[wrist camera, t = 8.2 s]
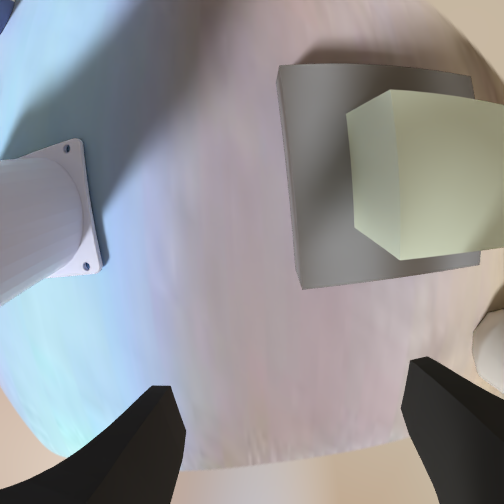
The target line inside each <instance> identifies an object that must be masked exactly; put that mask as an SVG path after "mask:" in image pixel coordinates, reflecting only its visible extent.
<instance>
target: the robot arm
mask: <svg viewBox="0 0 504 504" xmlns="http://www.w3.org/2000/svg"><path fill="white" fill-rule="evenodd" d="M68 145H69V146H70V151H69V152H67V147H68ZM86 262H87V263H88V264H89V265H90V269H89V268H87V266H86ZM102 267H103V263H102V259H101V254H100V250H99V245H98V240H97V235H96V230H95V225H94V219H93V213H92V208H91V201H90V195H89V188H88V181H87V174H86V166H85V157H84V147H83V142H82V141H81V140H80V139H78V138H73V139H70V140H67V141H64V142H61V143H58V144H55V145H52V146H49V147H46V148H43V149H41V150H38V151H35V152H33V153H30V154H27V155H25V156H22V157H20V158H17V159H8V160H0V307H1V306H3V305H4V304H6V303H7V302H9V301H10V300H12V299H13V298H15V297H16V296H18V295H19V294H21V293H22V292H24V291H25V290H27V289H29V288H30V287H32V286H33V285H35V284H37V283H38V282H40V281H41V280H43V279H45V278H55V277H66V276H76V275H87V274H96V273H98V272H100V271H101V270H102ZM401 411H402V414H403V417H404V420H405V423H406V426H407V429H408V432H409V435H410V437H411V439H412V441H413V443H414V445H415V447H416V450H417V452H418V454H419V456H420V458H421V460H422V462H423V464H424V466H425V468H426V471H427V473H428V475H429V477H430V479H431V481H432V483H433V486H434V488H435V491H436V494H437V496H438V500H439V503H440V504H504V400H503V399H501V398H499V397H497V396H495V395H493V394H491V393H489V392H488V391H486V390H484V389H482V388H480V387H479V386H477V385H475V384H473V383H472V382H470V381H468V380H467V379H465V378H463V377H462V376H460V375H458V374H457V373H455V372H453V371H452V370H450V369H448V368H447V367H445V366H443V365H442V364H440V363H438V362H437V361H435V360H433V359H431V358H429V357H423V358H418V359H414V360H410V364H409V370H408V376H407V381H406V386H405V391H404V396H403V401H402V405H401ZM185 437H186V429H185V427H184V424H183V421H182V418H181V415H180V413H179V410H178V407H177V404H176V401H175V398H174V395H173V392H172V389H171V386H151V387H150V388H149V389H148V390H147V391H146V392H144V393H143V394H142V395H141V396H140V397H139V398H138V399H137V400H136V401H135V402H134V403H133V404H132V405H131V406H130V407H129V408H128V409H127V410H126V411H125V412H124V413H123V414H121V415H120V416H119V417H118V418H117V419H116V420H115V421H114V422H113V423H112V424H111V425H110V426H108V427H107V428H106V429H105V430H104V431H102V432H101V433H100V434H99V435H98V436H96V437H95V438H94V439H93V440H91V441H90V442H89V443H88V444H87V445H85V446H84V447H83V448H81V449H80V450H79V451H77V452H76V453H74V454H73V455H71V456H70V457H68V458H67V459H65V460H64V461H62V462H60V463H59V464H57V465H56V466H54V467H52V468H50V469H48V470H46V471H44V472H42V473H40V474H38V475H36V476H34V477H32V478H30V479H28V480H26V481H23V482H20V483H18V484H15V485H13V486H10V487H7V488H4V489H0V504H170V502H171V499H172V495H173V492H174V488H175V484H176V480H177V477H178V474H179V470H180V466H181V463H182V459H183V452H184V445H185Z"/></svg>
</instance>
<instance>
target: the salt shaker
mask: <svg viewBox="0 0 504 504" xmlns="http://www.w3.org/2000/svg"><path fill="white" fill-rule="evenodd" d="M472 354H473V358H474V362H475V366H476V370H477V373H478V374H479V376H480V377H481V378H482V379H484V380H485V381H486V382H488V383H489V384H490V385H492V386H493V387H495V388H496V389H498V390H499V391H500V392H502V393H503V394H504V309H501V310H497V311H493V312H488V313H487V315H486V316H485V317H484V319H483V320H482V321H481V323H480V324H479V325H478V327H477V328H476V329H475V331H474V332H473V344H472Z"/></svg>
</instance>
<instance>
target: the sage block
mask: <svg viewBox="0 0 504 504" xmlns="http://www.w3.org/2000/svg"><path fill="white" fill-rule="evenodd" d="M346 119H347V128H348V137H349V148H350V159H351V172H352V186H353V204H354V228H356V229H357V230H359V231H360V232H361V233H363V234H364V235H366V236H367V237H368V238H370V239H371V240H373V241H374V242H375V243H377V244H378V245H380V246H381V247H382V248H384V249H385V250H386V251H388V252H389V253H390V254H392V255H393V256H395V257H396V258H397V259H399V260H408V259H417V258H425V257H434V256H442V255H450V254H458V253H466V252H474V251H481V250H489V249H496V248H503V247H504V105H502V104H497V103H492V102H487V101H482V100H476V99H470V98H464V97H458V96H451V95H444V94H436V93H427V92H417V91H406V90H392V89H390V90H388V91H386V92H384V93H383V94H381V95H379V96H377V97H375V98H373V99H372V100H370V101H368V102H366V103H364V104H363V105H361V106H359V107H357V108H356V109H354V110H352V111H350V112H348V113H347V114H346Z"/></svg>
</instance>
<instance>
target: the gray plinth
mask: <svg viewBox="0 0 504 504" xmlns="http://www.w3.org/2000/svg"><path fill="white" fill-rule="evenodd" d="M276 86H277V93H278V101H279V109H280V117H281V125H282V133H283V142H284V151H285V160H286V169H287V178H288V188H289V198H290V209H291V220H292V231H293V243H294V255H295V268H296V272H297V275H298V278H299V281H300V284H301V287H302V290H304V289H313V288H322V287H330V286H338V285H347V284H355V283H362V282H370V281H378V280H385V279H392V278H399V277H406V276H413V275H420V274H426V273H433V272H439V271H446V270H452V269H458V268H464V267H470V266H476V265H479V264H480V254H481V251H474V252H466V253H458V254H450V255H442V256H434V257H425V258H417V259H408V260H399V259H397V258H396V257H395V256H393V255H392V254H390V253H389V252H388V251H386V250H385V249H384V248H382V247H381V246H380V245H378V244H377V243H375V242H374V241H373V240H371V239H370V238H368V237H367V236H366V235H364V234H363V233H361V232H360V231H359V230H357V229H356V228H354V204H353V186H352V172H351V159H350V148H349V137H348V128H347V119H346V114H347V113H348V112H350V111H352V110H354V109H356V108H357V107H359V106H361V105H363V104H364V103H366V102H368V101H370V100H372V99H373V98H375V97H377V96H379V95H381V94H383V93H384V92H386V91H388V90H390V89H392V90H406V91H417V92H427V93H436V94H444V95H451V96H458V97H464V98H470V99H475V97H474V91H473V86H472V81H471V76H466V75H460V74H454V73H448V72H442V71H435V70H428V69H420V68H411V67H400V66H388V65H371V64H298V65H281V66H279V70H278V75H277V80H276Z"/></svg>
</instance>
